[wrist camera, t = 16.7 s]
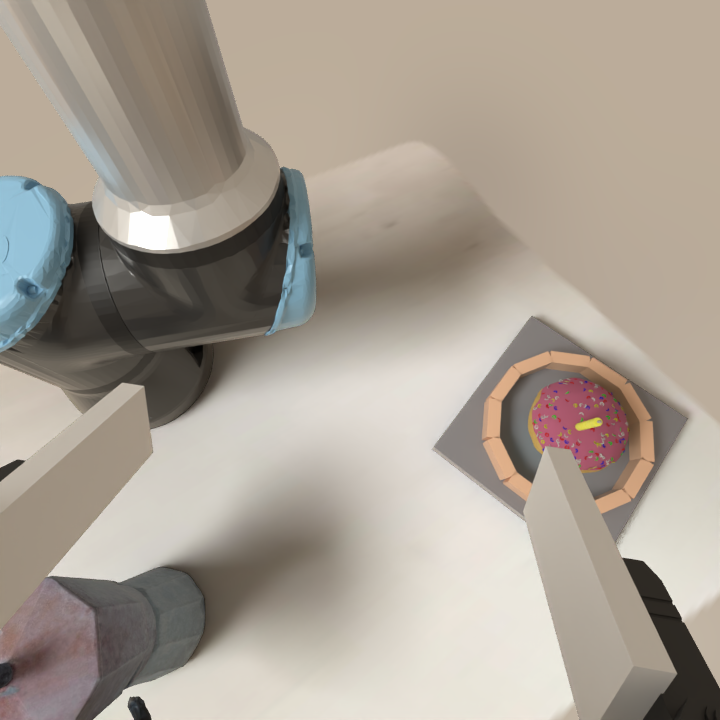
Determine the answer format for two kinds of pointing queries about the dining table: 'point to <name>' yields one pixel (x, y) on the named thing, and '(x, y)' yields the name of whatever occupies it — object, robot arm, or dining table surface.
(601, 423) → the cupcake
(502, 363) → the ring dish
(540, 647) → the dining table surface
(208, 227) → the robot arm
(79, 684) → the moka pot
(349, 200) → the dining table surface
